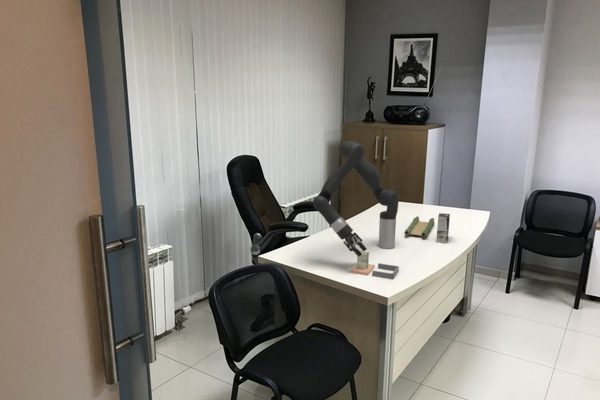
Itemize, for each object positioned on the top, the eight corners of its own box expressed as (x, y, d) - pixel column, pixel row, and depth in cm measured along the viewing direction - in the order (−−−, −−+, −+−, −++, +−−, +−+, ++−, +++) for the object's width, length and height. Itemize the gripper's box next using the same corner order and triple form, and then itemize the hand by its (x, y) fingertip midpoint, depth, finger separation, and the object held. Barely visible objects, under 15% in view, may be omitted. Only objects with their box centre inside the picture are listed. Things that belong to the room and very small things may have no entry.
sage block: (359, 265, 229) (360, 250, 227) (368, 266, 227) (368, 251, 225) (356, 268, 225) (357, 253, 223) (365, 269, 223) (366, 254, 221)
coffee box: (447, 243, 267) (449, 217, 264) (436, 242, 270) (437, 216, 266) (448, 239, 275) (450, 213, 272) (437, 238, 278) (439, 212, 274)
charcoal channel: (378, 267, 228) (378, 263, 228) (398, 271, 224) (398, 266, 224) (372, 275, 218) (372, 271, 218) (393, 279, 214) (393, 274, 213)
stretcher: (426, 241, 272) (426, 233, 271) (402, 238, 278) (402, 230, 277) (435, 224, 309) (436, 217, 308) (414, 222, 314) (414, 215, 313)
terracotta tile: (357, 264, 233) (357, 262, 233) (374, 267, 229) (374, 264, 229) (350, 272, 222) (350, 270, 222) (368, 275, 219) (368, 273, 219)
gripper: (342, 227, 218) (364, 253, 216) (351, 220, 231) (372, 244, 229) (331, 236, 221) (353, 261, 219) (341, 228, 234) (361, 252, 232)
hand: (362, 252), depth 224 cm, fingers open, 8 cm apart
